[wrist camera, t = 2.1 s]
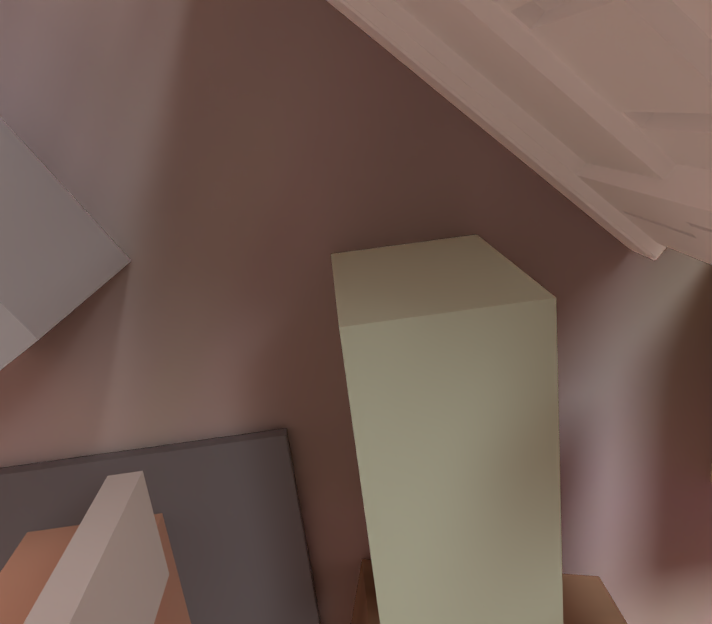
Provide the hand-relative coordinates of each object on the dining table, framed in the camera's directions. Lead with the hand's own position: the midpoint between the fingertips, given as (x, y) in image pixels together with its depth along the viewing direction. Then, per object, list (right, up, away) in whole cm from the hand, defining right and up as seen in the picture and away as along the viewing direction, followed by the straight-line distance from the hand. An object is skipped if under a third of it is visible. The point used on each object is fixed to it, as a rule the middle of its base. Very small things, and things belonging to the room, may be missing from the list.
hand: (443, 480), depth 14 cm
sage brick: (0, +2, +4) cm, 5 cm away
